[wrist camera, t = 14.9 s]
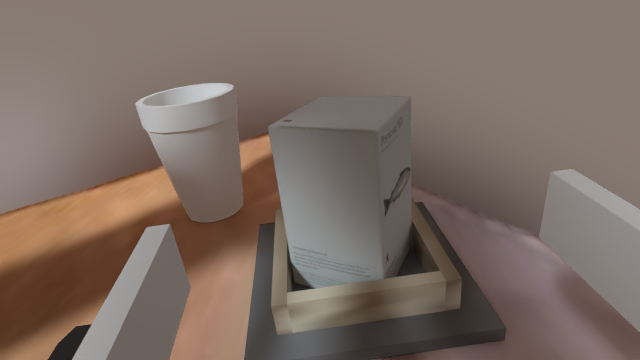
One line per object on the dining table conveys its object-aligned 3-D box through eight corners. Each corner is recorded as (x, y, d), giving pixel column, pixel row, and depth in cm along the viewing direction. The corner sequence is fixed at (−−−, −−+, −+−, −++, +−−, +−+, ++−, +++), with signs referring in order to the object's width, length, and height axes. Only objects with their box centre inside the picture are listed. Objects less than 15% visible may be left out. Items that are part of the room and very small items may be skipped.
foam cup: (155, 220, 43) (115, 105, 37) (214, 184, 50) (188, 82, 44) (218, 238, 38) (183, 109, 32) (273, 195, 45) (252, 83, 39)
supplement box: (386, 310, 26) (376, 130, 20) (291, 284, 29) (262, 124, 24) (415, 247, 32) (414, 94, 26) (333, 231, 35) (317, 93, 29)
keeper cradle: (246, 377, 23) (234, 336, 22) (261, 233, 38) (255, 202, 36) (504, 339, 24) (510, 296, 22) (422, 210, 38) (422, 179, 37)
